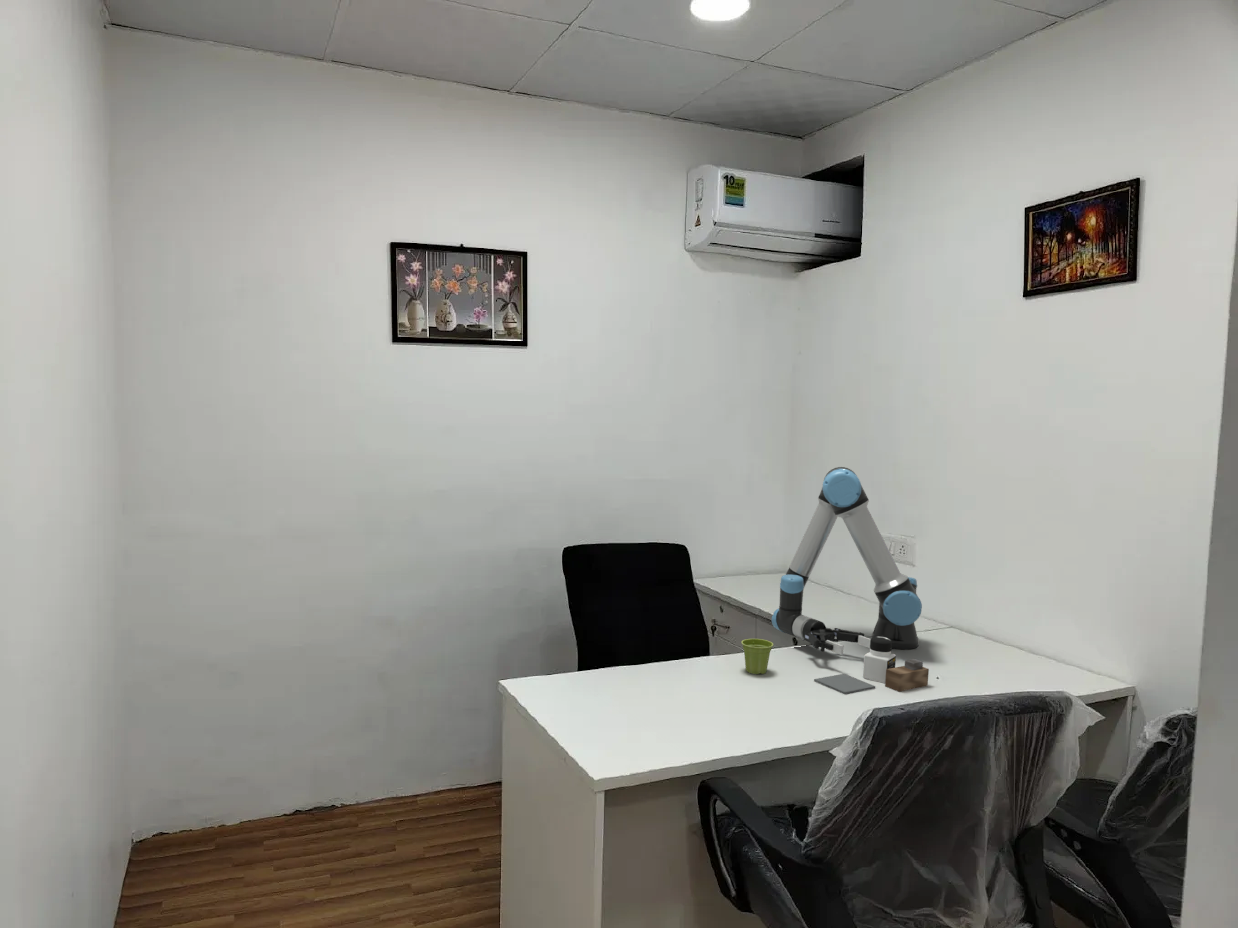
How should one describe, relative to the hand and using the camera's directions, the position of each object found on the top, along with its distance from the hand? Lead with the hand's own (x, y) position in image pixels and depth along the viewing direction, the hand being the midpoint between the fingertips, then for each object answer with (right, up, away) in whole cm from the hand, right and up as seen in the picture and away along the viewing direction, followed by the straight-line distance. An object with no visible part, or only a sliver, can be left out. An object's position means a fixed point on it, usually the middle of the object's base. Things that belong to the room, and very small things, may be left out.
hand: (858, 647), depth 254 cm
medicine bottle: (+4, -8, -6) cm, 11 cm away
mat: (-8, -8, -13) cm, 17 cm away
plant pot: (-32, -6, -4) cm, 33 cm away
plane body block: (+10, -8, -12) cm, 18 cm away
